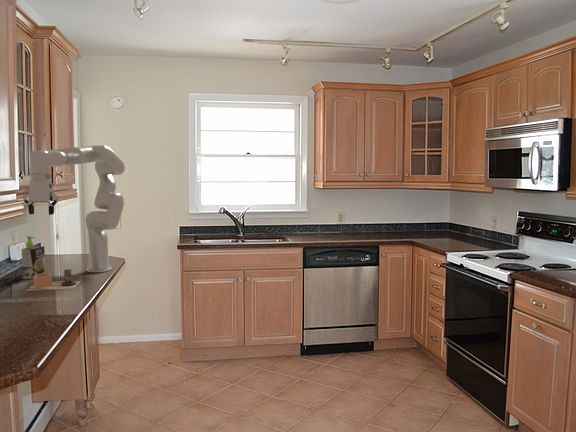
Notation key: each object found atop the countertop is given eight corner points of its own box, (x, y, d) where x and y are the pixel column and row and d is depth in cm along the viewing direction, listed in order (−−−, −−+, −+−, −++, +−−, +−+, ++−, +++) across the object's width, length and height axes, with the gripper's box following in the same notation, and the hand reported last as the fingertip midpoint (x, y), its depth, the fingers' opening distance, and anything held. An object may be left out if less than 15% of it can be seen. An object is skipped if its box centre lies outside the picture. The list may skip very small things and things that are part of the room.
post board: (37, 285, 248) (36, 267, 247) (81, 283, 251) (81, 266, 250) (25, 293, 232) (24, 274, 231) (73, 292, 235) (72, 273, 234)
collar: (37, 284, 243) (37, 273, 243) (53, 283, 244) (53, 273, 244) (32, 287, 237) (31, 277, 236) (49, 287, 238) (48, 276, 237)
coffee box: (34, 282, 254) (32, 249, 252) (22, 281, 255) (20, 248, 253) (46, 278, 263) (44, 246, 261) (35, 277, 264) (33, 245, 262)
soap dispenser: (30, 276, 266) (28, 237, 264) (22, 275, 269) (20, 236, 267) (41, 274, 271) (39, 235, 268) (33, 272, 274) (31, 234, 272)
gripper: (62, 177, 246) (63, 214, 248) (27, 177, 248) (28, 213, 249) (53, 177, 239) (54, 215, 240) (17, 177, 240) (19, 214, 242)
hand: (41, 214), depth 245 cm, fingers open, 9 cm apart
